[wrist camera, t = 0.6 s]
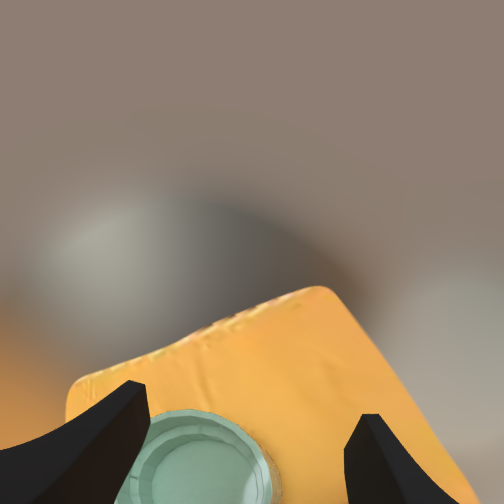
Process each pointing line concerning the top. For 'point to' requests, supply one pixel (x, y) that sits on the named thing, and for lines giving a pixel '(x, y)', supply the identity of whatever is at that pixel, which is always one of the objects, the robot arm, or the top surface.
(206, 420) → the bowl
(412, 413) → the top surface
